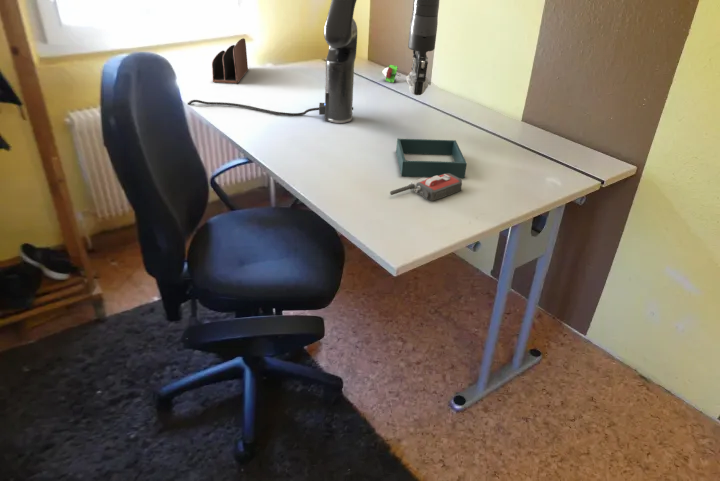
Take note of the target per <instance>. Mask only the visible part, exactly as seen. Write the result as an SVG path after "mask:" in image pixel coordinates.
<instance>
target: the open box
mask: <svg viewBox="0 0 720 481" xmlns="http://www.w3.org/2000/svg"><path fill="white" fill-rule="evenodd" d="M395 154H396V158H397V163H398V168H399V172H400V177H404V178H405V177H407V178H408V177H409V178H430V177H431V178H432V177H433V176H436V175H437V176H439V175H442V174H447V173H450V174H452V175H454V176H456V177H458V178H460V179H465V178H466V170H467V165H468V162H467V161H466V159H465V156H464V154H463V153H462V150H461V148H460V146H459V144H458V142H457V140H456V139H455V140H454V139H424V138H423V139H422V138H420V139H419V138H397V140H396V149H395ZM405 155H433V156H434V155H435V156H451V157H452V160H453V161H441V160H440V161H438V160H437V161H435V160H433V161H432V160H406V157H405Z"/></svg>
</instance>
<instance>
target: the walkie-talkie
mask: <svg viewBox="0 0 720 481" xmlns="http://www.w3.org/2000/svg"><path fill="white" fill-rule="evenodd" d="M462 185H463V179H462V178H458V177H456V176H454V175H452V174H450V173H447V174H442V175H439V176H437V175H436V176H433V177H420V178H418V179H413V180H411V181H410V184H407V185H405V186H402V187H399V188H396V189H394V190H393V189H392V190H391V191H389V195H390V196H393V195H396V194H400V193H403V192H405V191H408V190H414V193H416V194H418V195H420V196H421V197H423V198H424V199H427V200H428V201H431V202H434V201H437V200H439V199H442V198H445V197H448V196H451V195H453V194H456V193H459V192H460V191H462Z"/></svg>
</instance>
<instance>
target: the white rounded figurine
mask: <svg viewBox="0 0 720 481" xmlns="http://www.w3.org/2000/svg"><path fill="white" fill-rule="evenodd" d="M419 77H422V74H419ZM406 82H407V85H408V88H409V89H408V90H409V92H410V93H411V94H412V95H414V96H416V95H415V94H414V89H415V73H414V71H413V70H411V71H410V72H409V74H407V76H406ZM428 88H429V78H428V77H427V76H426V81H425V82H423V89H422V94H421V95H423V94H424V93H425V92H426V90H427V89H428Z"/></svg>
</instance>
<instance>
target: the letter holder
mask: <svg viewBox="0 0 720 481" xmlns="http://www.w3.org/2000/svg"><path fill="white" fill-rule="evenodd" d="M247 54H248V52H247V42H246V38H244V37H243V38H241V39H239V40H238V41H237V42H236V44H231V45H229V47H228V48H227V49H226V50H221V51H219V52H218V53H217V54H216V55H215V56H214V58H213V60H212V61H211V70H212V71H211V73H212V74H211V75H212V82H213V83H218V84H219V83H221V84H236V85H237V84H239V82H240V81H241V80H242V78H243V77H244V76H245V75H246V73H247V72H248V71H249V65H248V55H247Z"/></svg>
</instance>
